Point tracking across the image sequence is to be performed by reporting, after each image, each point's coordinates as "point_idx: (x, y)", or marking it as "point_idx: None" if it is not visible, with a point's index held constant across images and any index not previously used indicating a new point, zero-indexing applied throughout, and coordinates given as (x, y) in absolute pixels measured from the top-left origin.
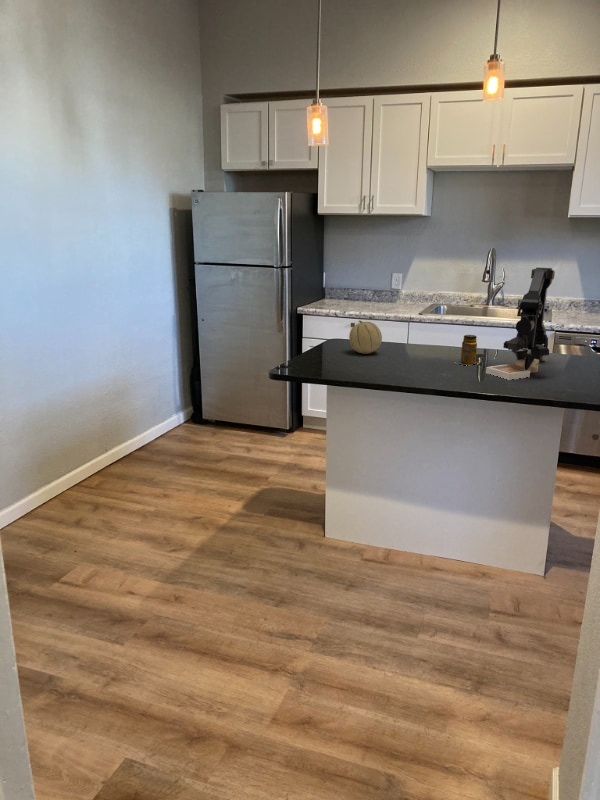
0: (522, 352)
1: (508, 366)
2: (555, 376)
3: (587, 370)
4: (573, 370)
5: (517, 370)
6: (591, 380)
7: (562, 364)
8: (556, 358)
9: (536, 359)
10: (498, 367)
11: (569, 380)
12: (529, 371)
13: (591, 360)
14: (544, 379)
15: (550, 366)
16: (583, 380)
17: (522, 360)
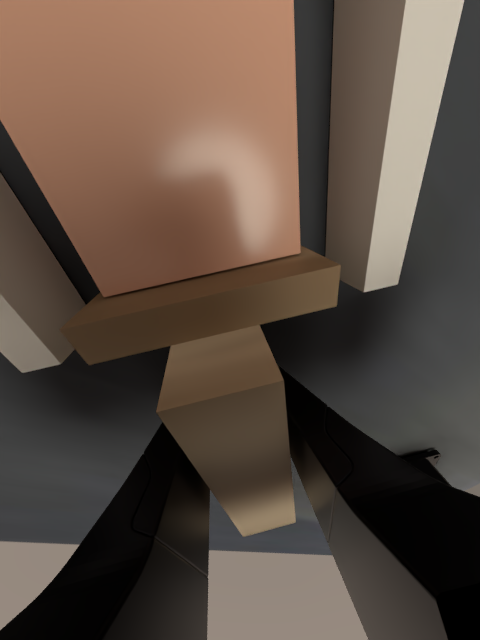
0: (382, 622)
1: (352, 283)
2: (114, 466)
3: (210, 542)
4: (221, 522)
5: (117, 261)
6: (35, 539)
7: (308, 514)
8: None
9: (260, 528)
10: (384, 50)
11: (10, 491)
12: (18, 361)
13: (309, 552)
14: (3, 399)
15: (303, 489)
16: (28, 524)
17: (224, 445)
